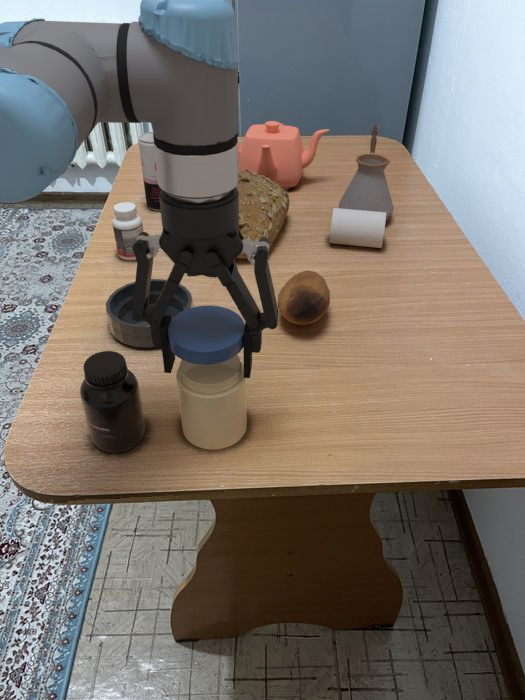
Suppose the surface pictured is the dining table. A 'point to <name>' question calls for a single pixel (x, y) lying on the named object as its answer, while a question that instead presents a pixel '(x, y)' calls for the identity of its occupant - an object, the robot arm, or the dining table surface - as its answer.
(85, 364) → the supplement bottle
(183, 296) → the bowl
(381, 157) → the coffee pot
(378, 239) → the cup
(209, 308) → the jar lid
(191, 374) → the jar
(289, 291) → the potato
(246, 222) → the bread
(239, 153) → the teapot
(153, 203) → the beverage can
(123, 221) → the pill bottle
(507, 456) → the dining table surface
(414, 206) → the dining table surface
